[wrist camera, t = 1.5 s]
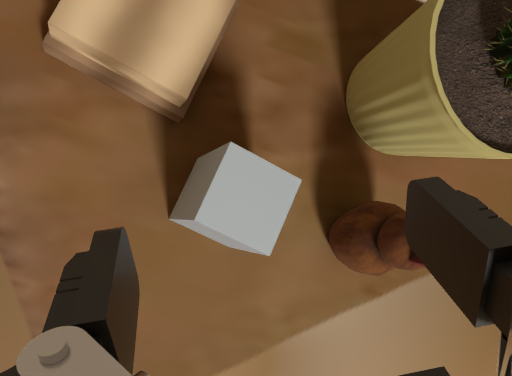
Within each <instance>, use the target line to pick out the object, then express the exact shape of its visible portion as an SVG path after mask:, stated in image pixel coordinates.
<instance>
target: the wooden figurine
mask: <svg viewBox="0 0 512 376" xmlns="http://www.w3.org/2000/svg"><path fill="white" fill-rule="evenodd" d="M405 215H406V211H404V210H403V209H402V208H400V207H398V206H397V205H395V204H390V203H385V202H380V201H370V202H367V203H365V204H363V205H360V206H358V207H355V208H353V209H351V210H349V211H348V212H346V213H345V214H343V215H341V216H340V217H339V218H338V219H337V220H336V221H335V222H334V224H333V225H332V227H331V229H330V232H329V243H330V246H331V249H332V251H333V252H334V254H335V256H336V257H337V259H338V260H340V261H341V262H342V263H343V264H345V265H346V266H347V267H348V268H350V269H352V270H354V271H356V272H359V273H363V274H369V275H381V274H384V273H386V272H389V271H391V270H393V269H395V268H398V269H403V270H416V269H420V268H425V265H424V264H423V263H422V262H421V260H420V259H419V258H418V257H417V256H416V254H415V253H414V252H413V251H412V249H411V248H410V247H409V245H408V242H407V240H406V236H405Z"/></svg>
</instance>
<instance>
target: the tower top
mask: <svg viewBox="0 0 512 376" xmlns="http://www.w3.org/2000/svg"><path fill="white" fill-rule="evenodd" d="M234 2H235V0H60V2H59V4H58V5H57V7H56V9H55V11H54V12H53V14H52V16H51V17H50V19H49V21H48V26H49V32H50V37H51V38H53V39H54V40H56V41H58V42H60V43H62V44H64V45H66V46H67V47H69V48H71V49H73V50H75V51H77V52H78V53H80V54H82V55H84V56H86V57H88V58H90V59H91V60H93V61H95V62H97V63H99V64H101V65H102V66H104V67H106V68H108V69H110V70H112V71H114V72H115V73H117V74H119V75H121V76H123V77H125V78H126V79H128V80H130V81H132V82H134V83H136V84H138V85H139V86H141V87H143V88H145V89H147V90H149V91H150V92H152V93H154V94H156V95H158V96H160V97H162V98H163V99H165V100H167V101H169V102H171V103H173V104H174V105H176V106H178V107H180V106H181V105H182V104H183V103H184V102H185V101H186V100H187V98H188V96H189V94H190V92H191V90H192V88H193V86H194V84H195V82H196V80H197V78H198V76H199V74H200V72H201V70H202V68H203V66H204V64H205V62H206V60H207V57H208V55H209V53H210V51H211V49H212V47H213V45H214V43H215V41H216V39H217V37H218V35H219V33H220V31H221V29H222V27H223V25H224V23H225V21H226V19H227V17H228V15H229V13H230V11H231V9H232V6H233V4H234Z"/></svg>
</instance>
